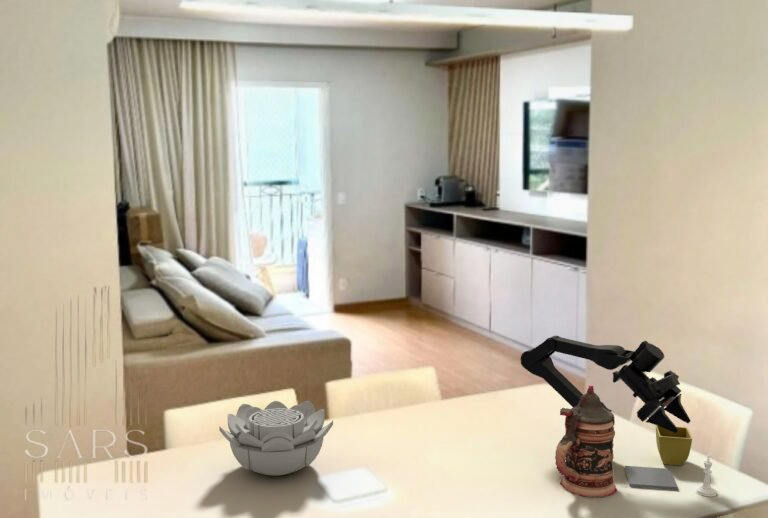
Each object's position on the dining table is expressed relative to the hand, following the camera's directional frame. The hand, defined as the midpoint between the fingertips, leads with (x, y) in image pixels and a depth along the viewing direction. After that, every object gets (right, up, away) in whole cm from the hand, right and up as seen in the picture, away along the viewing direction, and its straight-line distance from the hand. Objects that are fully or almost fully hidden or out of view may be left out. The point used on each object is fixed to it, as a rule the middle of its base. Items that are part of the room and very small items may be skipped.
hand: (683, 426), depth 212 cm
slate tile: (-8, -15, +3) cm, 17 cm away
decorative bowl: (-109, -14, +10) cm, 110 cm away
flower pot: (+2, -13, +14) cm, 19 cm away
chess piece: (+4, -16, -5) cm, 17 cm away
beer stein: (-27, -15, -2) cm, 31 cm away
